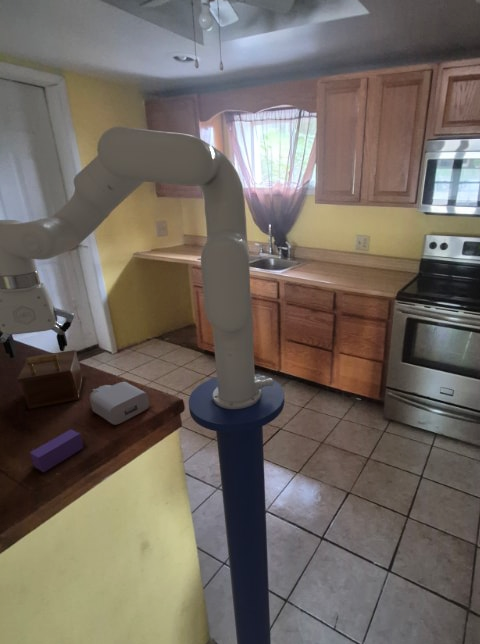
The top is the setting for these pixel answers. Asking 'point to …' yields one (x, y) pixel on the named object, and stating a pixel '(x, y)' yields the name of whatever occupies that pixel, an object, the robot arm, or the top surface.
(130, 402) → the charger
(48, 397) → the chest
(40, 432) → the top surface
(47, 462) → the purple rectangular block
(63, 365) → the lid
